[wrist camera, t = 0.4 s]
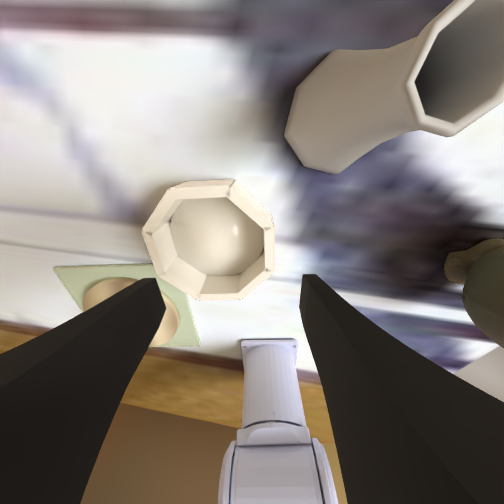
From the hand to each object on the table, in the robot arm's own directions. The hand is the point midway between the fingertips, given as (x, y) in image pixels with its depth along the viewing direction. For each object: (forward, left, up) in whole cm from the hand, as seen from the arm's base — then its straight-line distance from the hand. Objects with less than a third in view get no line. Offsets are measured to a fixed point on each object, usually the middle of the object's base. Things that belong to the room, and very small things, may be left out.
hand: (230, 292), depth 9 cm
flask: (+8, -7, -10) cm, 15 cm away
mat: (-11, +15, -10) cm, 21 cm away
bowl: (-1, +3, -10) cm, 10 cm away
